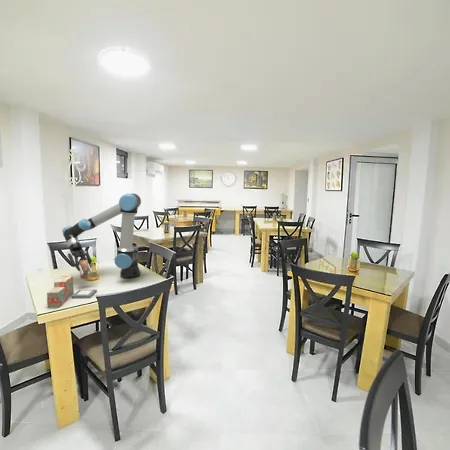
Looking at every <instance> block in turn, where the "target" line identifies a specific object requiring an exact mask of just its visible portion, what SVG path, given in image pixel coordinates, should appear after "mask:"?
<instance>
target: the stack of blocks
mask: <svg viewBox="0 0 450 450" xmlns="http://www.w3.org/2000/svg"><path fill="white" fill-rule="evenodd" d="M74 292H75V290H74V276H73V275H62V276H61V277H59V278H58V279H56V280H55V281H54V282H53V288H51V289H50V290H48V291H47V292H46V302H47V303H46V305H47V309H54V308H55V309H57V308H60V307H61V306H63V304H64V303H66V301H68V300H69V299H70V298H72V296H73V295H74V294H75V293H74Z"/></svg>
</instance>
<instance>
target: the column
mask: <svg viewBox="0 0 450 450" xmlns="http://www.w3.org/2000/svg"><path fill="white" fill-rule="evenodd" d="M78 264H79V265H80V266H81V268H82V271H83V275H81V274H80V273H79V278H80V280H86V279H89V271H88V260H83V259H81V260H78Z"/></svg>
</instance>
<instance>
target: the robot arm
mask: <svg viewBox="0 0 450 450" xmlns="http://www.w3.org/2000/svg"><path fill="white" fill-rule="evenodd" d="M141 204H142V200H141V197H140V196H139V195H138V194H136V193H126V194H123V195H121V196H120V197H119V199H118V203H117V204H115V205H113V206H111V207H109V208H106V210H103V211H102V212H100V213H98V214H96V215H94V216H92V217H90V218H88V219H86V218H83V219H81V220H79V221H78V222H77V223H76V224H74V225H73V226H72V225H68V226H66V227H64V228H63V229H62V235H63V237H64V239H65V242H66V245H67V247H68V249H69V251H70V252H69V253H67V257H68V259H69V262H70V265H71V267H73V268H75V269H76V270H77V271H78V272H79V275H80V274H81V275H83V271H82V268H81V266H80V265H79V258H80V259H81V260H88V274H92V272H93V270H92V265H91V264H92V262H93V260H92V258H91V256H90V254H89V250H84V249H83V247H82V244H81V243H80V239H79V238H78V237H79V236H80V235H81V234H84V232H87V231H90V230H93V229H95V228H96V227H99V226H100V225H102V224H103V223H106V222H107V221H109V220H112V219H113V218H115V217H117V216H119V215H122V216H121V223H120V225H121V226H120V237H119V238H120V240H119V247H118V248H116V250H117V251H116V256H115V258H114V264H115V266H116V267H117V268H119V269H121V270H120V278H123V279H133V278H138V277H140V276H141V270H140V267H139V248H138V247H137V246H133V242H134V241H133V240H134V230H135V228H134V227H135V220H136V219H135V218H136V215H137V214H138V208H140V206H141ZM73 257H74V258H73Z"/></svg>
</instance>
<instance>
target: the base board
mask: <svg viewBox="0 0 450 450" xmlns="http://www.w3.org/2000/svg"><path fill="white" fill-rule="evenodd" d="M97 292H98V289H78V290H77V291H76V292H75V293H74V294H73V295H72V296H71V300H72V299H92V297H93V296H94V295H95V294H96V293H97Z"/></svg>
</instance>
